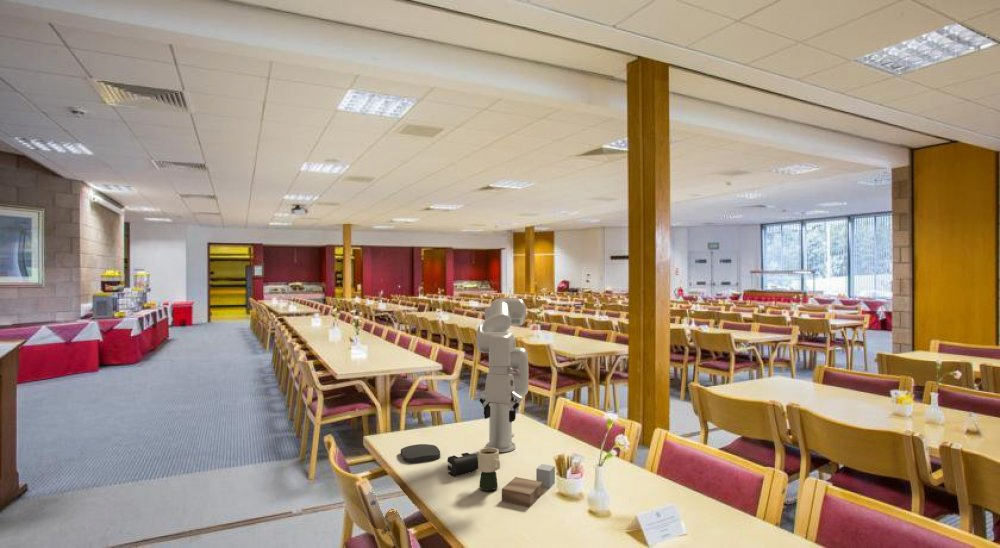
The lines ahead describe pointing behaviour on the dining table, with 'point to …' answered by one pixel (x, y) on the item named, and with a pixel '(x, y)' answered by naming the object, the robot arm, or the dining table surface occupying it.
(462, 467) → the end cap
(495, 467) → the character mug
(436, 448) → the media streaming box
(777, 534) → the dining table surface
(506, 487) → the block
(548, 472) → the grey block
